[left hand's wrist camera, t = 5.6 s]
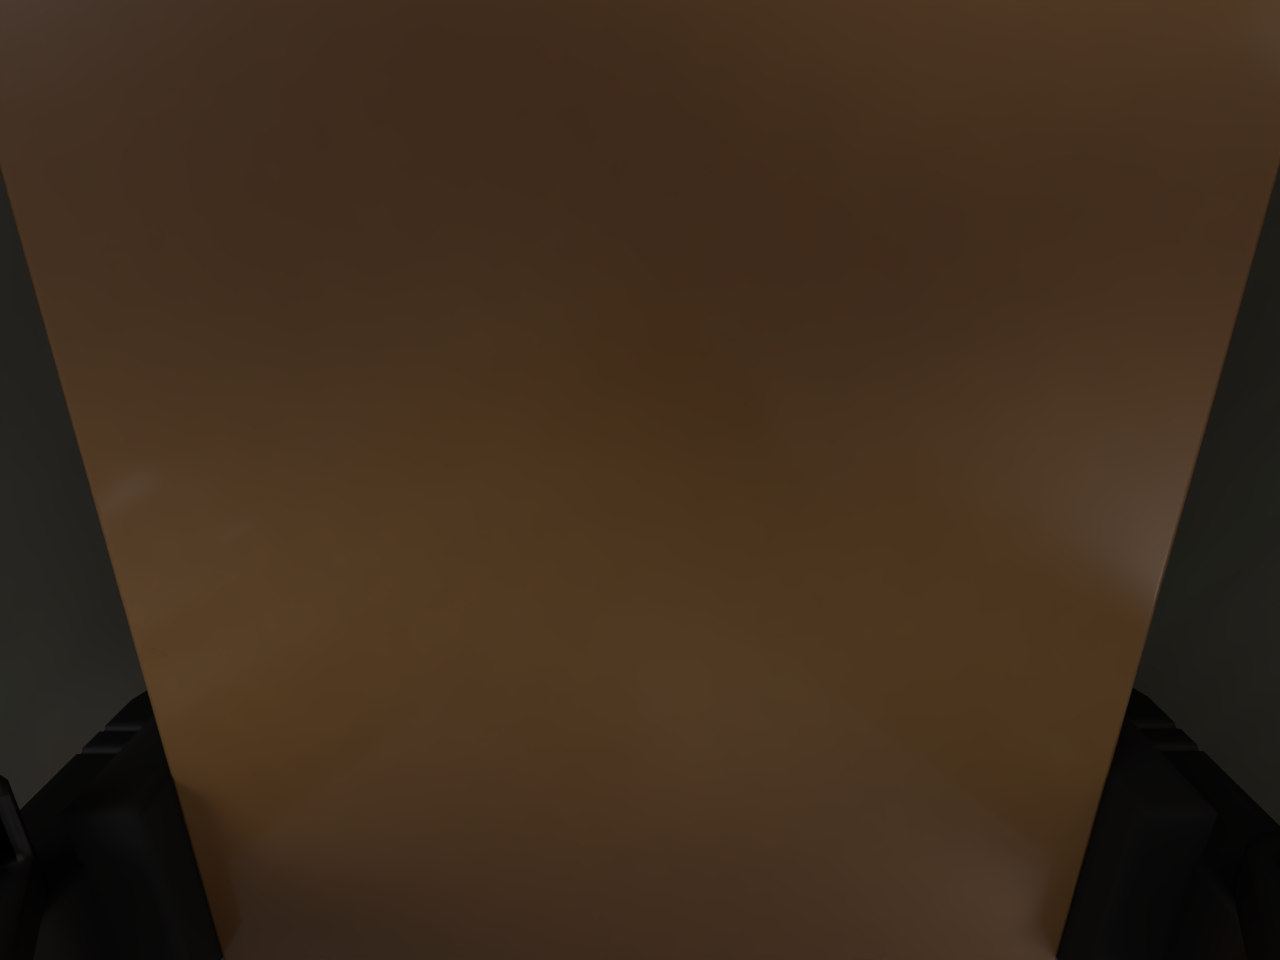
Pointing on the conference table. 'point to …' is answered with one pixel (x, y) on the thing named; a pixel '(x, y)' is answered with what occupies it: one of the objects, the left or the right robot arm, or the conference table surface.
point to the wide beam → (639, 443)
